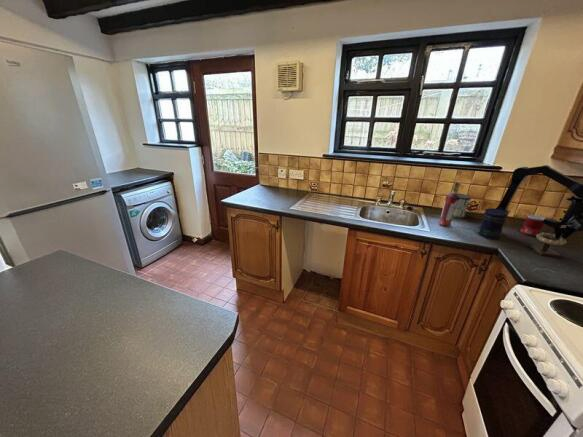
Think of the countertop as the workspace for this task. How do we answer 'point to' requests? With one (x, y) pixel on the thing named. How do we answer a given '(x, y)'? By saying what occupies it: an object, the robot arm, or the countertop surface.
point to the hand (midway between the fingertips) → (559, 239)
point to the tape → (552, 242)
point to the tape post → (545, 249)
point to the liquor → (450, 206)
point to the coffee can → (462, 205)
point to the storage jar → (492, 223)
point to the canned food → (532, 225)
